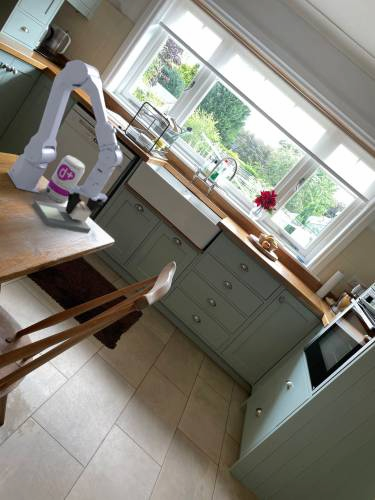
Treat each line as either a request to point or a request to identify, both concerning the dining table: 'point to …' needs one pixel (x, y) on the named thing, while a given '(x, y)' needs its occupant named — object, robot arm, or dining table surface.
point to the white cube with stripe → (80, 212)
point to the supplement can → (65, 178)
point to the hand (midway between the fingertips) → (75, 213)
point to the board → (59, 217)
